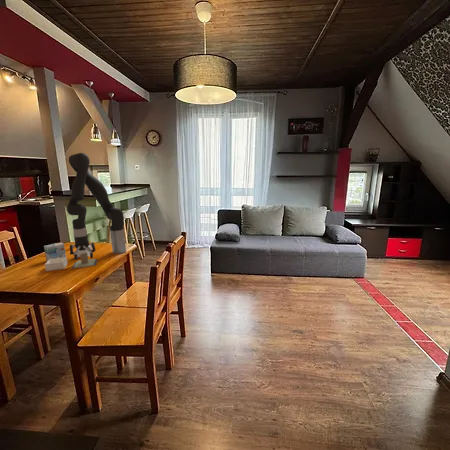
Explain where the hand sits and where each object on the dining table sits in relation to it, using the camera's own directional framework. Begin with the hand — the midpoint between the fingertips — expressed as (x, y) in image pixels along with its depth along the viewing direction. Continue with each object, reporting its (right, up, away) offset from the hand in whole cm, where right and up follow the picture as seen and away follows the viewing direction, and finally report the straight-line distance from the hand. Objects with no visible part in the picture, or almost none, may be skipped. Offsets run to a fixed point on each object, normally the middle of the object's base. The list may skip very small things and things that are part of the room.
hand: (84, 258), depth 165 cm
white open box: (-15, -5, -4) cm, 16 cm away
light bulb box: (-26, -2, +12) cm, 28 cm away
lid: (0, -3, +1) cm, 3 cm away
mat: (0, -4, +1) cm, 4 cm away
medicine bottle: (-9, 0, +17) cm, 20 cm away
